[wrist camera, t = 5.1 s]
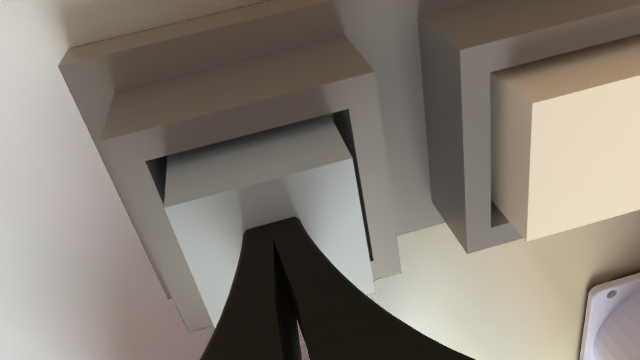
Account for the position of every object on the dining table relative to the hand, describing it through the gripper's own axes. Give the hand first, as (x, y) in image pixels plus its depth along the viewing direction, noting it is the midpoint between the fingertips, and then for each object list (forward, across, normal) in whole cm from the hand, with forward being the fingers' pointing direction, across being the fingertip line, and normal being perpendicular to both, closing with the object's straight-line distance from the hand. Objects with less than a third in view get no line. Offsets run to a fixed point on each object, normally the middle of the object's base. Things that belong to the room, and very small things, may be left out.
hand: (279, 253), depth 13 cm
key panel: (+6, -4, 0) cm, 8 cm away
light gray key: (+3, 0, 0) cm, 3 cm away
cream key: (+3, -9, 0) cm, 10 cm away
